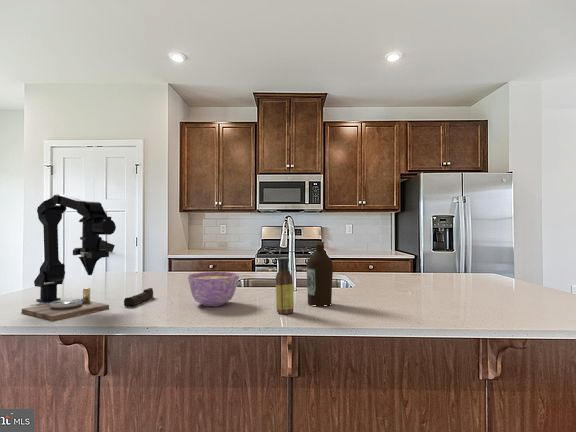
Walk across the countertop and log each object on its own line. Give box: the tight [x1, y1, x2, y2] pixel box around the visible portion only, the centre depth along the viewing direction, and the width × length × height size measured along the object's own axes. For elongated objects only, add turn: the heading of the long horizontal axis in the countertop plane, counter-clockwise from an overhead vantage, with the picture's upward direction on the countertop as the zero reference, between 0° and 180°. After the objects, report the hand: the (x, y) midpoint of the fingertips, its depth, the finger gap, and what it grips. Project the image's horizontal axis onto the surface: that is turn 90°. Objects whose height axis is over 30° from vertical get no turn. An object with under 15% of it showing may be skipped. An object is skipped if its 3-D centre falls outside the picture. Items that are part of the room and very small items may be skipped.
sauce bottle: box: [275, 257, 294, 315], centre depth 132 cm, size 6×6×20 cm
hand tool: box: [123, 287, 154, 308], centre depth 148 cm, size 19×4×5 cm, turn 170°
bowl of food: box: [187, 271, 240, 307], centre depth 145 cm, size 20×20×12 cm
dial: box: [49, 287, 91, 309], centre depth 134 cm, size 14×10×5 cm
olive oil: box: [305, 241, 334, 306], centre depth 146 cm, size 11×11×25 cm
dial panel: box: [21, 300, 110, 322], centre depth 132 cm, size 20×20×2 cm
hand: (90, 275), depth 139 cm, fingers closed
